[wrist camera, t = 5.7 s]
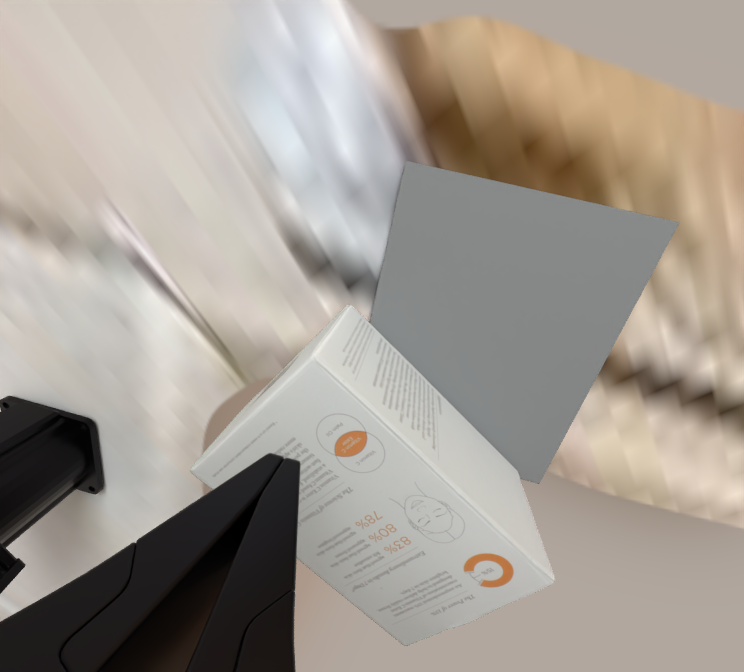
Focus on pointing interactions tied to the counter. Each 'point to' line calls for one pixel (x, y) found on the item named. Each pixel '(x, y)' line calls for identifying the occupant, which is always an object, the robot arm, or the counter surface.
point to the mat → (510, 300)
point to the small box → (389, 485)
